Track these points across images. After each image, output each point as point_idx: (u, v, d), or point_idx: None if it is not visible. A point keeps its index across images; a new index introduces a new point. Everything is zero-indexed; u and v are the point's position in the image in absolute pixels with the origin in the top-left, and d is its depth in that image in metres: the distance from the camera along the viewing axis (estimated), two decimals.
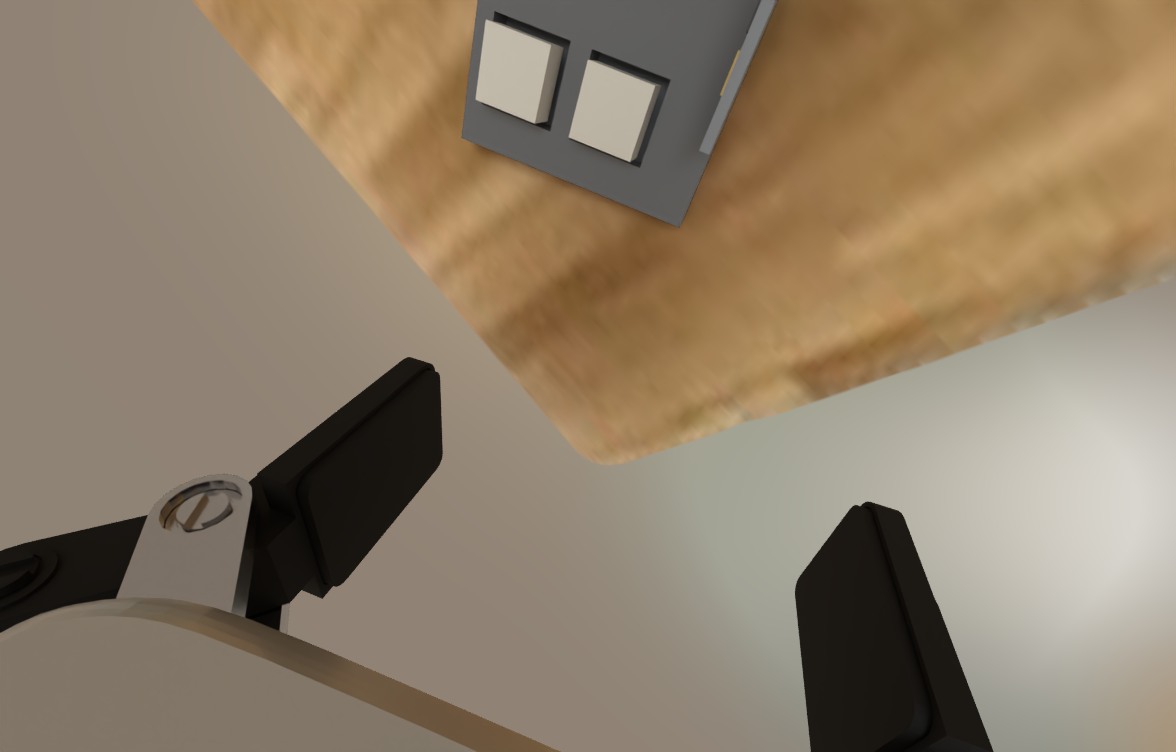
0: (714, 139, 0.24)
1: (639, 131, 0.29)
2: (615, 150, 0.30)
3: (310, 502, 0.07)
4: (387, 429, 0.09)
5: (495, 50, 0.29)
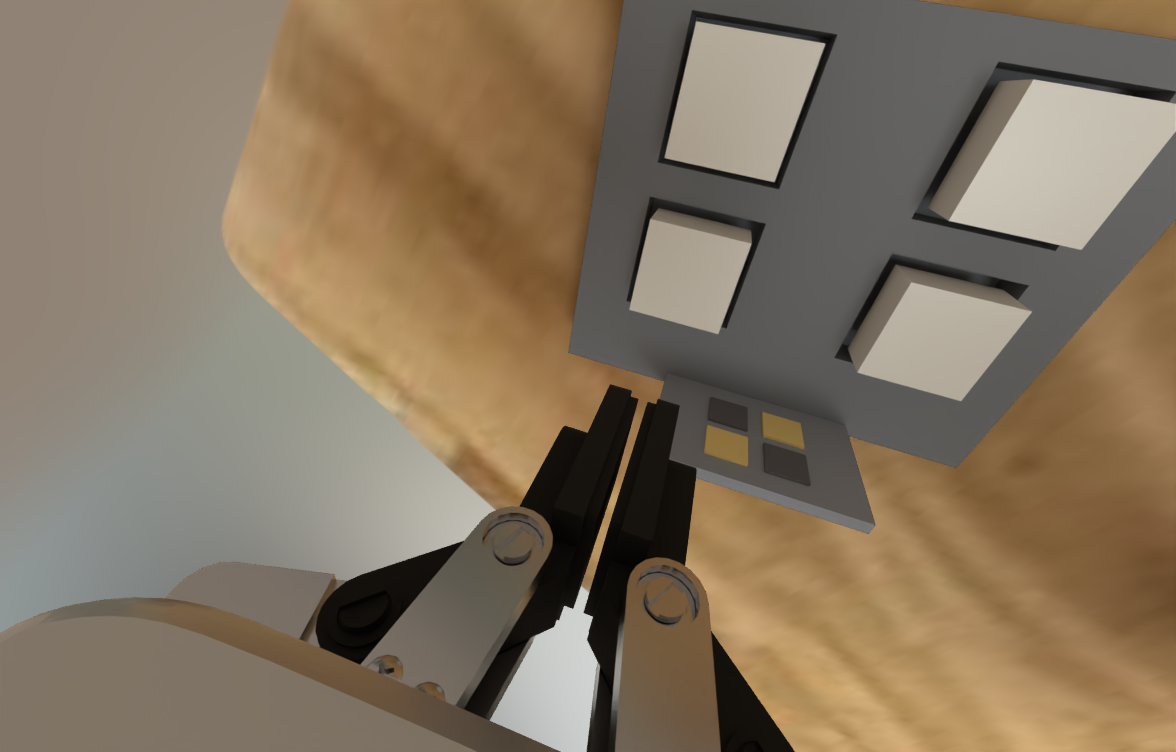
0: None
1: (666, 318, 0.22)
2: (640, 289, 0.22)
3: (593, 532, 0.07)
4: (619, 457, 0.09)
5: (774, 68, 0.16)
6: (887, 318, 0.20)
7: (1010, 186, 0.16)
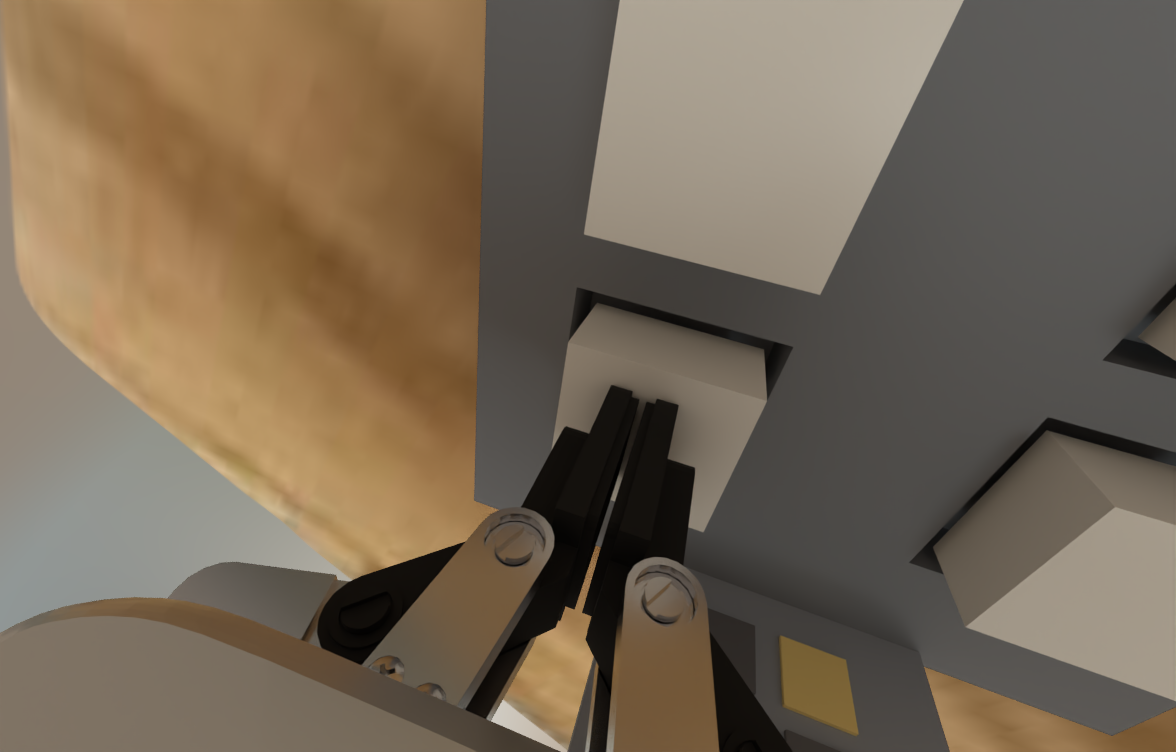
0: None
1: (611, 497, 0.13)
2: None
3: (595, 533, 0.07)
4: (620, 458, 0.09)
5: (833, 36, 0.06)
6: (1042, 553, 0.10)
7: None
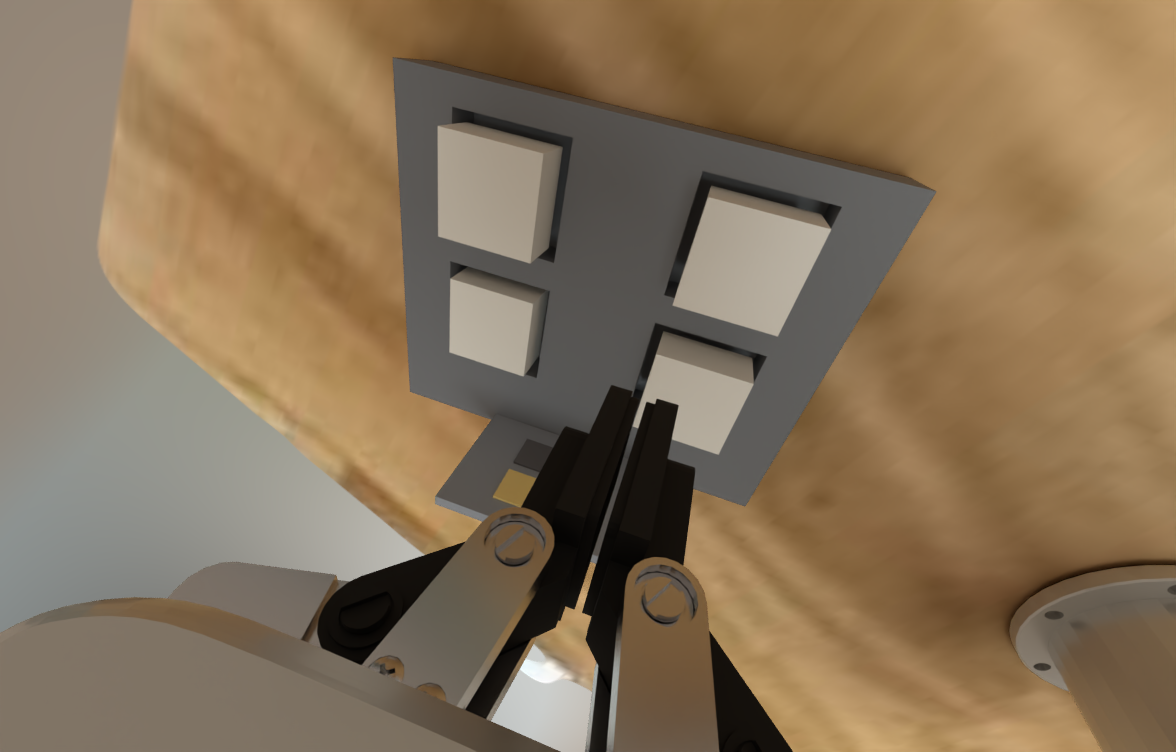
0: (448, 508, 0.23)
1: (480, 361, 0.25)
2: (455, 336, 0.25)
3: (595, 533, 0.07)
4: (620, 458, 0.09)
5: (508, 170, 0.18)
6: (647, 382, 0.22)
7: (712, 281, 0.18)
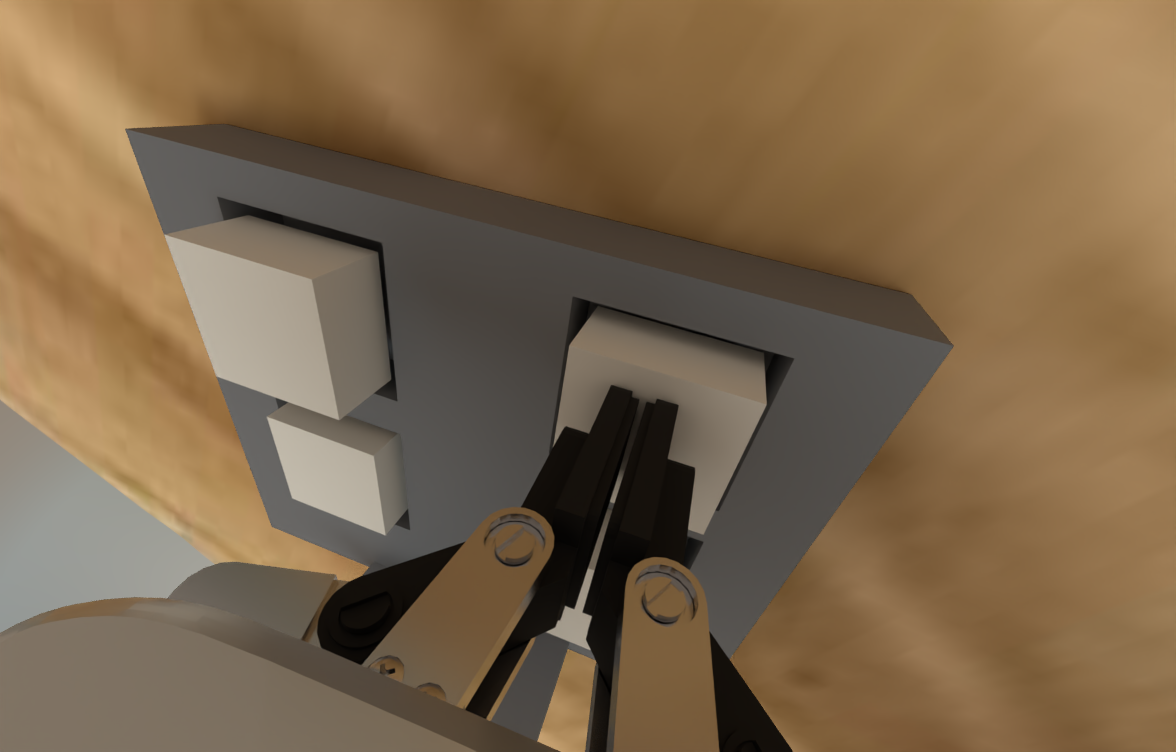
0: None
1: (331, 511, 0.19)
2: (293, 481, 0.18)
3: (594, 533, 0.07)
4: (620, 458, 0.09)
5: (273, 299, 0.12)
6: None
7: None
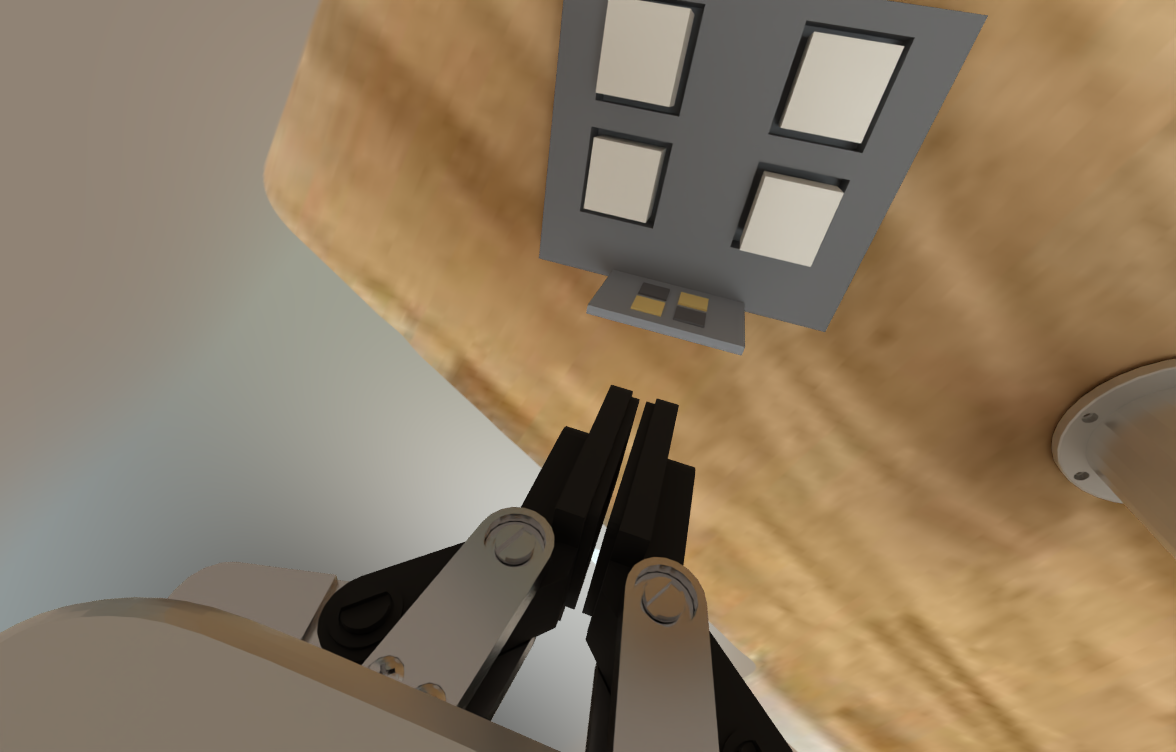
0: (597, 315, 0.29)
1: (609, 213, 0.32)
2: (590, 192, 0.31)
3: (594, 533, 0.07)
4: (620, 458, 0.09)
5: (661, 26, 0.24)
6: (754, 205, 0.28)
7: (813, 102, 0.25)
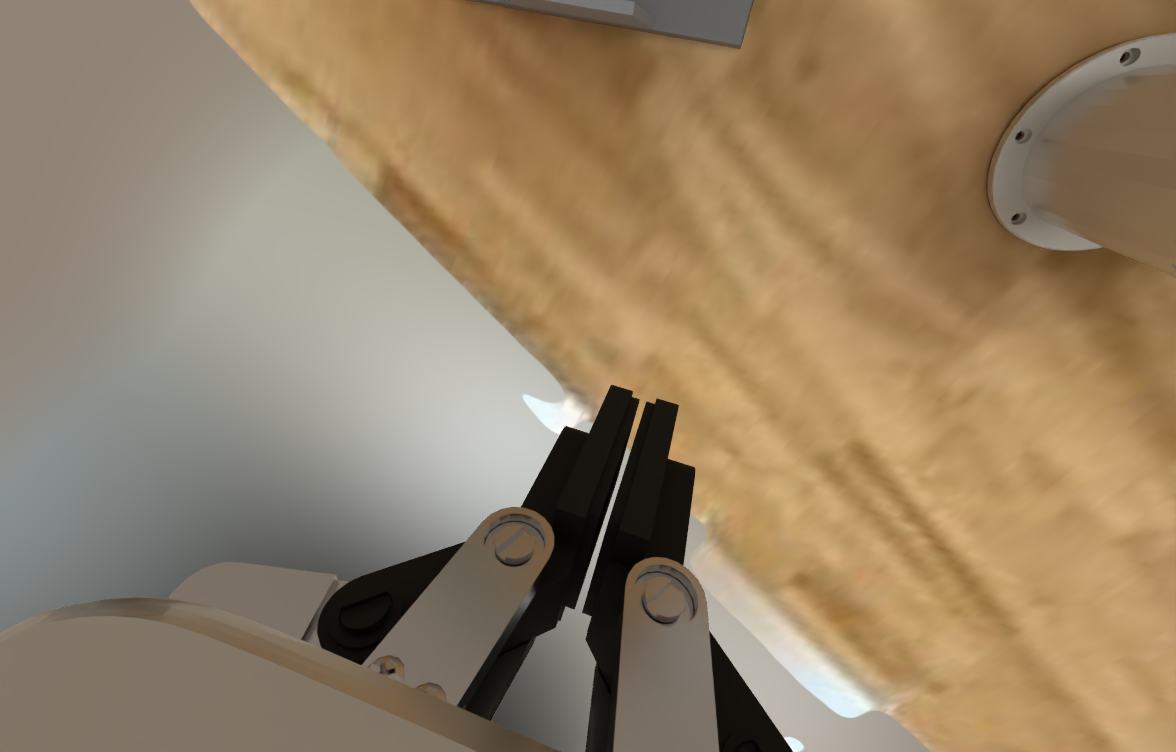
0: None
1: None
2: None
3: (594, 533, 0.07)
4: (620, 458, 0.09)
5: None
6: None
7: None
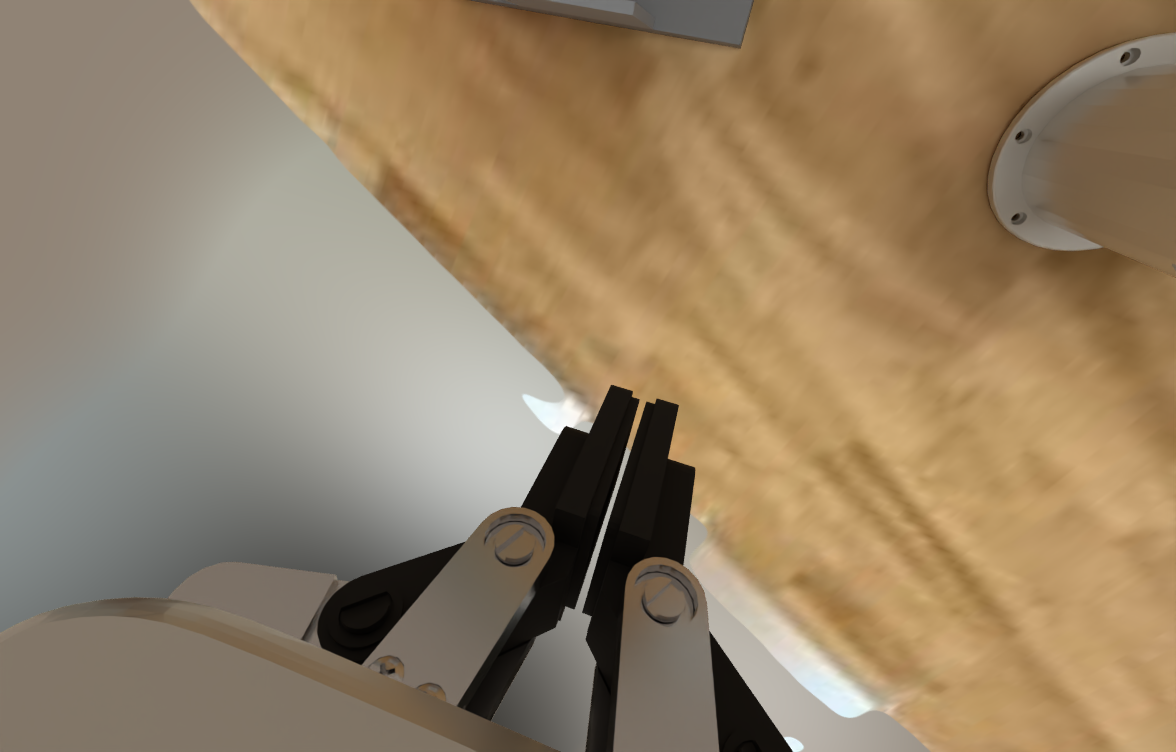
0: None
1: None
2: None
3: (595, 533, 0.07)
4: (620, 458, 0.09)
5: None
6: None
7: None
